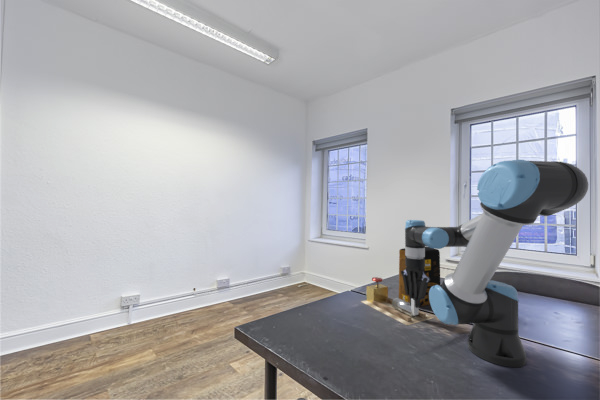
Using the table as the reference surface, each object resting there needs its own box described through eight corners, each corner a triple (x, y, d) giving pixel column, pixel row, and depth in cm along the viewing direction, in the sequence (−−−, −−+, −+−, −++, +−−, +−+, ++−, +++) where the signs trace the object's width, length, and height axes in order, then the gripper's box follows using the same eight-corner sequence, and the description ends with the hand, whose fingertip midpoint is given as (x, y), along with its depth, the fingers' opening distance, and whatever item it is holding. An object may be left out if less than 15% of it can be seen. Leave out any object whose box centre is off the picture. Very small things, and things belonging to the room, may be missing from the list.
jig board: (434, 321, 106) (434, 314, 106) (407, 329, 99) (407, 321, 99) (385, 299, 131) (384, 293, 131) (360, 304, 124) (360, 298, 124)
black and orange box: (443, 305, 124) (443, 247, 124) (413, 311, 116) (413, 249, 117) (425, 298, 134) (424, 244, 134) (396, 302, 126) (396, 246, 127)
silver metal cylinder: (416, 318, 107) (419, 306, 108) (408, 316, 105) (411, 304, 106) (398, 309, 116) (401, 298, 117) (390, 307, 114) (393, 296, 115)
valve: (387, 301, 125) (387, 278, 125) (373, 304, 121) (373, 281, 121) (376, 296, 132) (376, 275, 132) (362, 298, 128) (362, 276, 128)
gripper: (435, 259, 101) (435, 319, 101) (408, 253, 113) (408, 307, 113) (422, 261, 98) (422, 322, 98) (396, 255, 110) (396, 309, 110)
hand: (414, 314), depth 105 cm, fingers closed
